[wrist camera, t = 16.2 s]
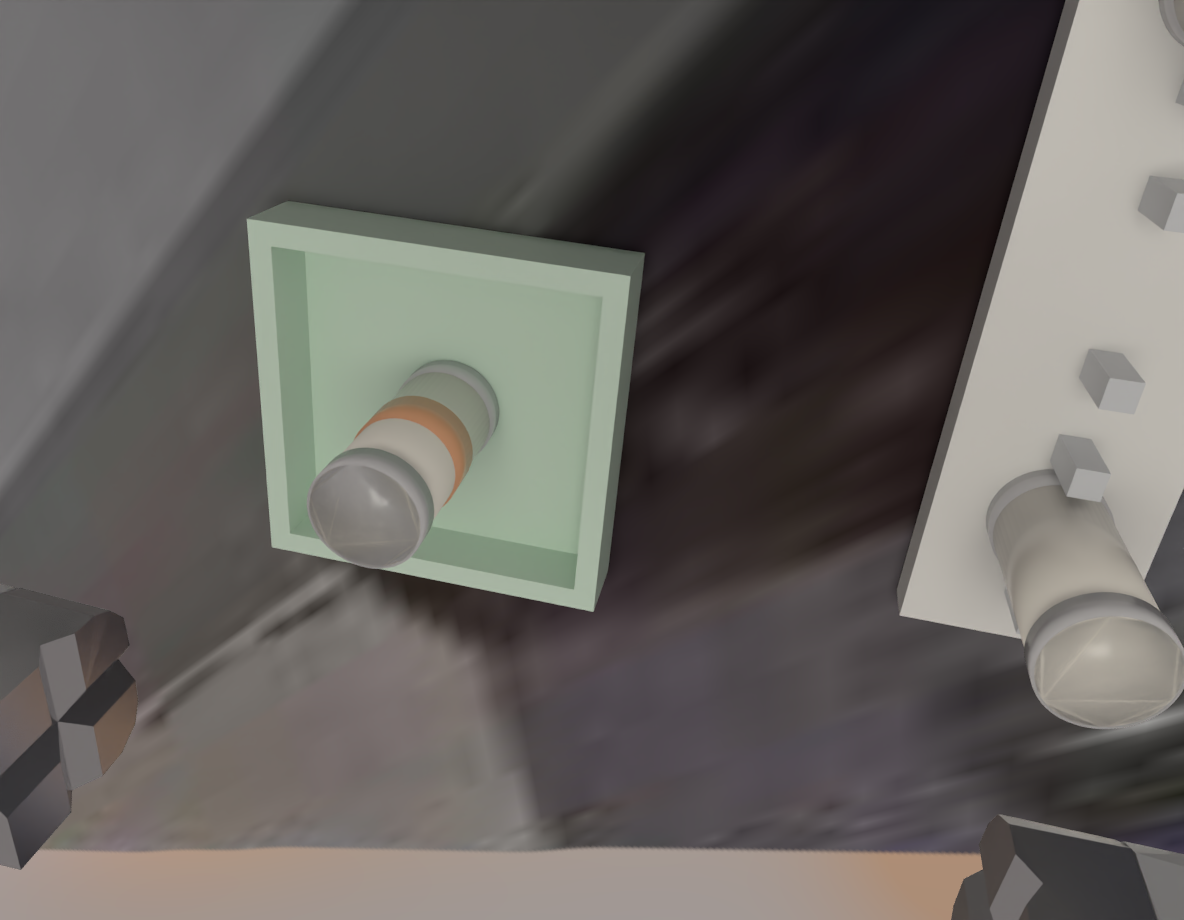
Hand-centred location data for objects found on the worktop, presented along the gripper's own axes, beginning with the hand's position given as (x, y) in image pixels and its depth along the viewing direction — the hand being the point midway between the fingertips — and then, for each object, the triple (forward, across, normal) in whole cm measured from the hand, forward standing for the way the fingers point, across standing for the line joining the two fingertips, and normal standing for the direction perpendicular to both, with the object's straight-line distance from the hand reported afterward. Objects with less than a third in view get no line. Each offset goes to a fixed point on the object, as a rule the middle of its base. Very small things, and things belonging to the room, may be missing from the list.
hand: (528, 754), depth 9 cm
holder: (+33, -14, +3) cm, 36 cm away
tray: (+33, +11, +13) cm, 37 cm away
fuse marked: (+32, +12, +14) cm, 37 cm away
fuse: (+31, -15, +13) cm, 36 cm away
